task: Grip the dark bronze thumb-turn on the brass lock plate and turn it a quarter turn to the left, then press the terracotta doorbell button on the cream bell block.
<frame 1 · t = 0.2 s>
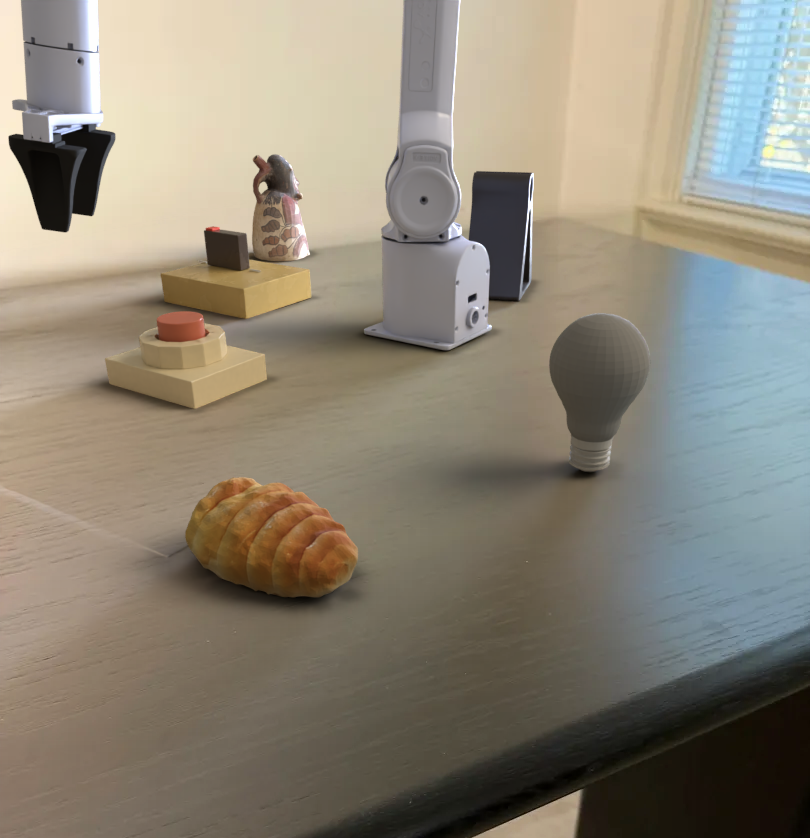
hand: (68, 222, 78), 10 cm above the table, tool pointing down, fingers open, 7 cm apart
light bulb: (588, 471, 57), on the table
bell button: (181, 328, 70), point 4 cm above the table, slide at 0.1 cm
phone stand: (498, 291, 98), on the table
thumb turn: (226, 248, 94), point 5 cm above the table, hinge at 0.0°
bell block: (188, 382, 72), on the table
figurine: (281, 256, 114), on the table
pastry: (274, 562, 48), on the table
lock plate: (238, 299, 95), on the table
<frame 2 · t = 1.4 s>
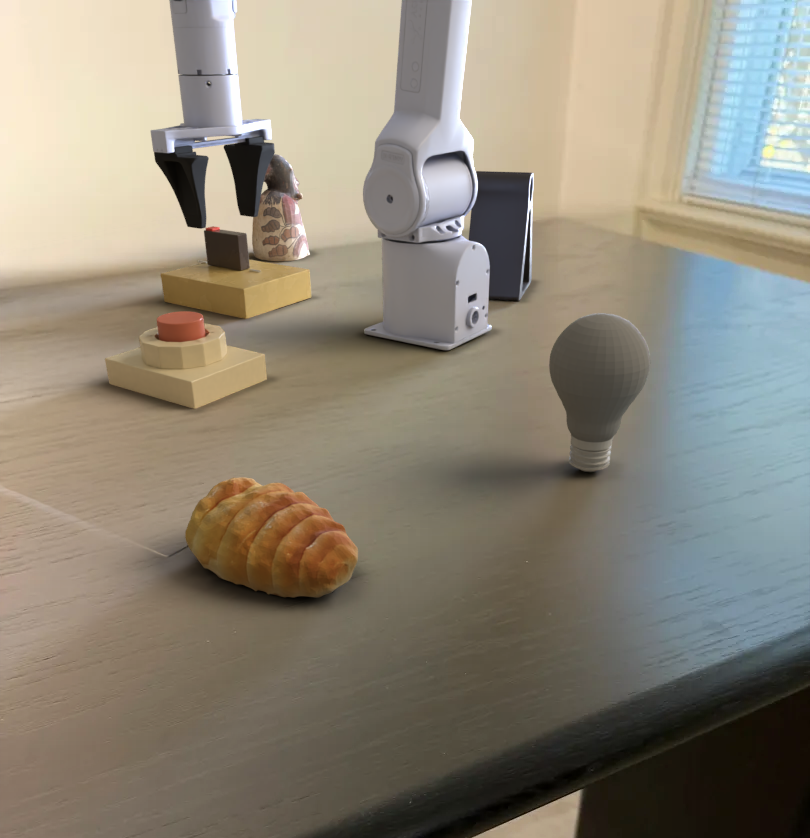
hand: (223, 221, 93), 8 cm above the table, tool pointing down, fingers open, 7 cm apart
nothing on the table moved.
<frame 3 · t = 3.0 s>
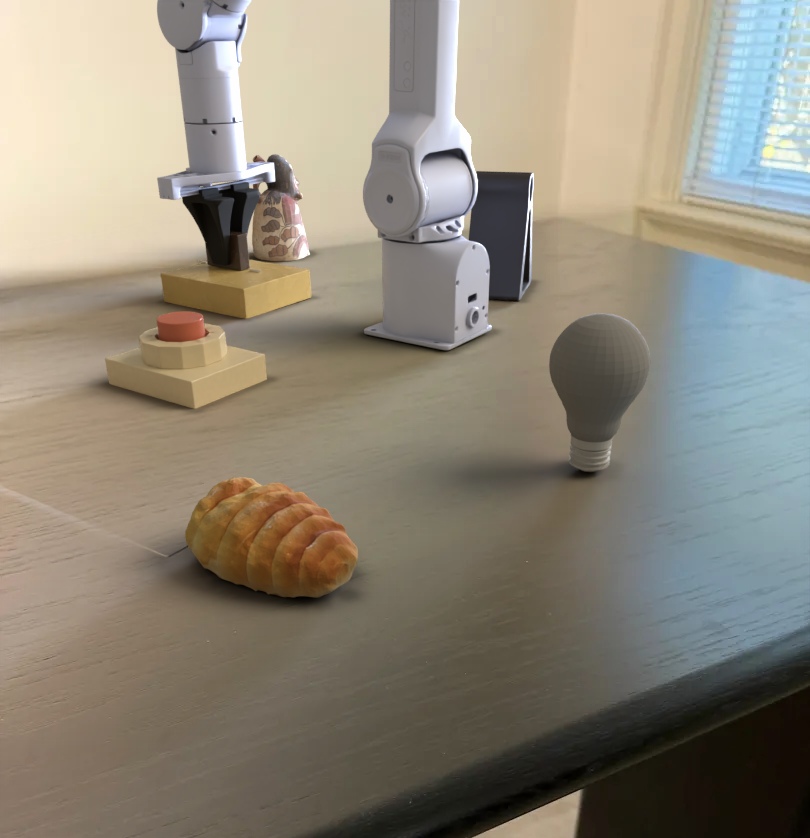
hand: (228, 262, 95), 4 cm above the table, tool pointing down, fingers closed on thumb turn
thumb turn: (226, 248, 94), point 5 cm above the table, hinge at 0.0°, touching gripper
everything else where it was.
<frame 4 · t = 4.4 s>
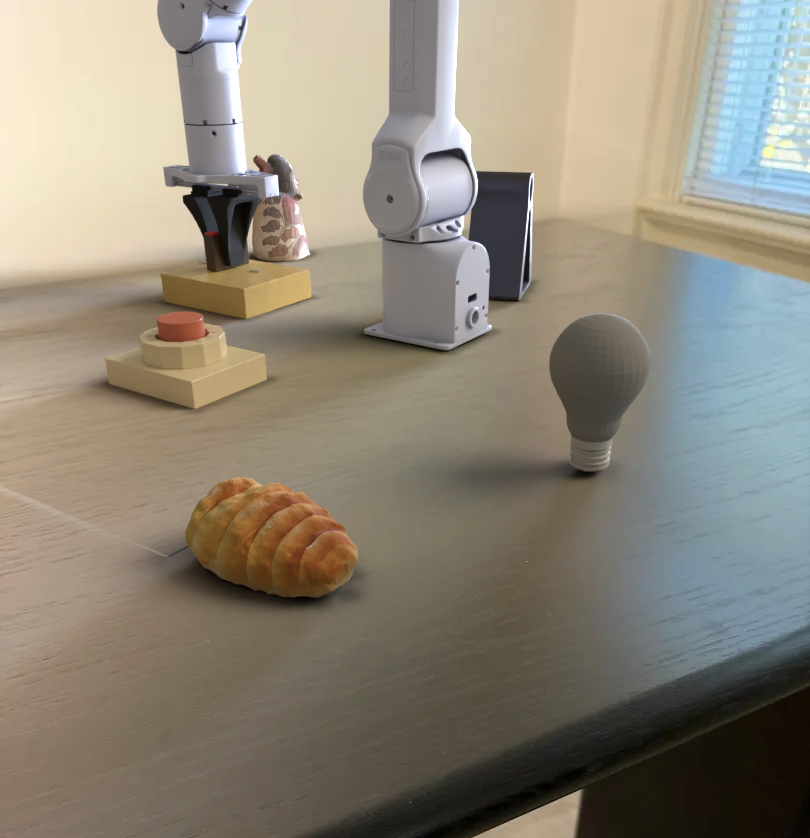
hand: (228, 263, 95), 3 cm above the table, tool pointing down, fingers closed on thumb turn
thumb turn: (226, 248, 94), point 5 cm above the table, hinge at 89.8°, touching gripper
everything else where it was.
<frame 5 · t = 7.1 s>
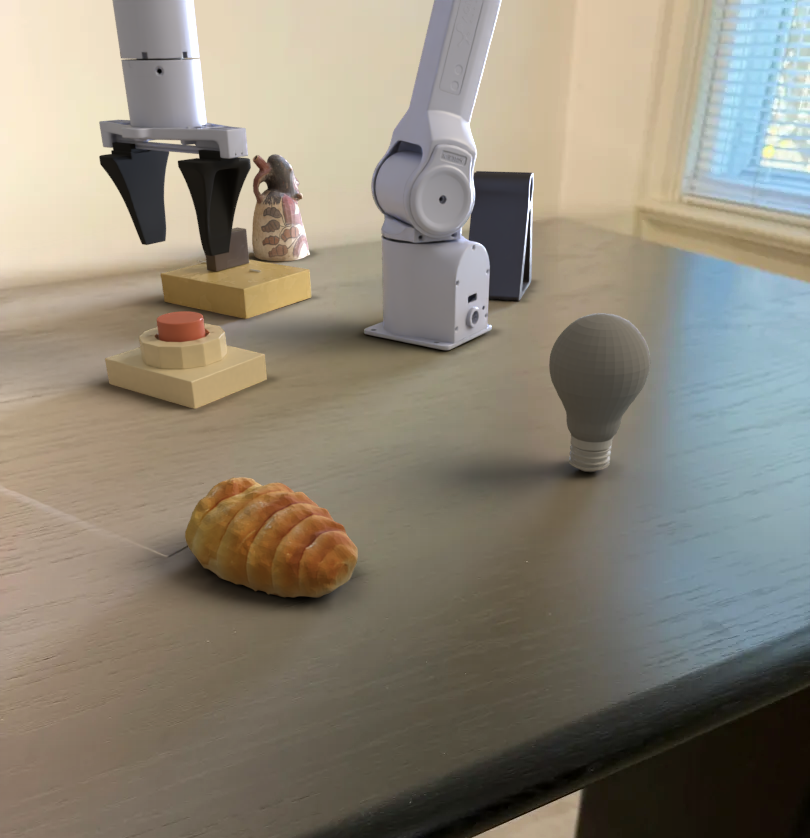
hand: (184, 248, 73), 9 cm above the table, tool pointing down, fingers open, 7 cm apart
thumb turn: (226, 248, 94), point 5 cm above the table, hinge at 89.8°
everything else where it was.
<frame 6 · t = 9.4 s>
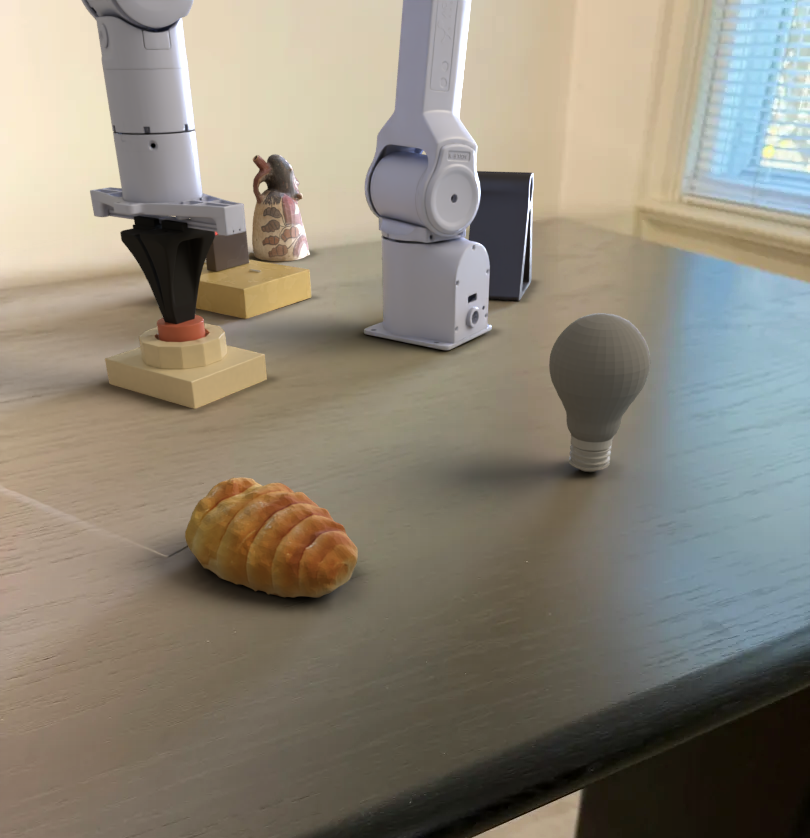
hand: (179, 320, 70), 5 cm above the table, tool pointing down, fingers closed, pressing on bell button
bell button: (181, 331, 70), point 4 cm above the table, slide at -0.1 cm, touching gripper
everything else where it was.
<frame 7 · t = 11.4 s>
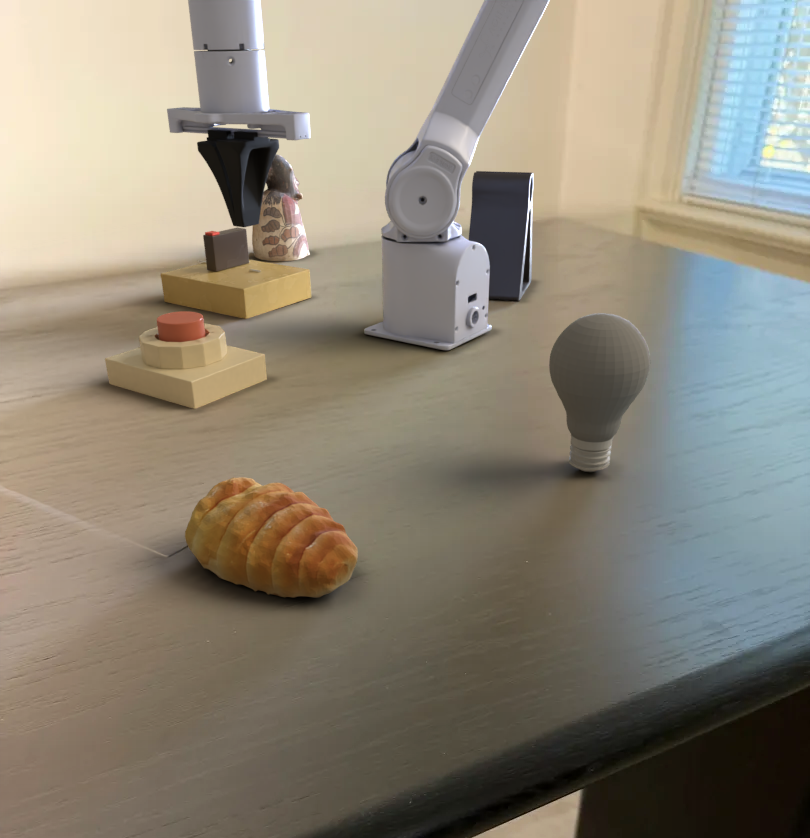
hand: (246, 225, 79), 10 cm above the table, tool pointing down, fingers closed
bell button: (181, 328, 70), point 4 cm above the table, slide at 0.1 cm
everything else where it was.
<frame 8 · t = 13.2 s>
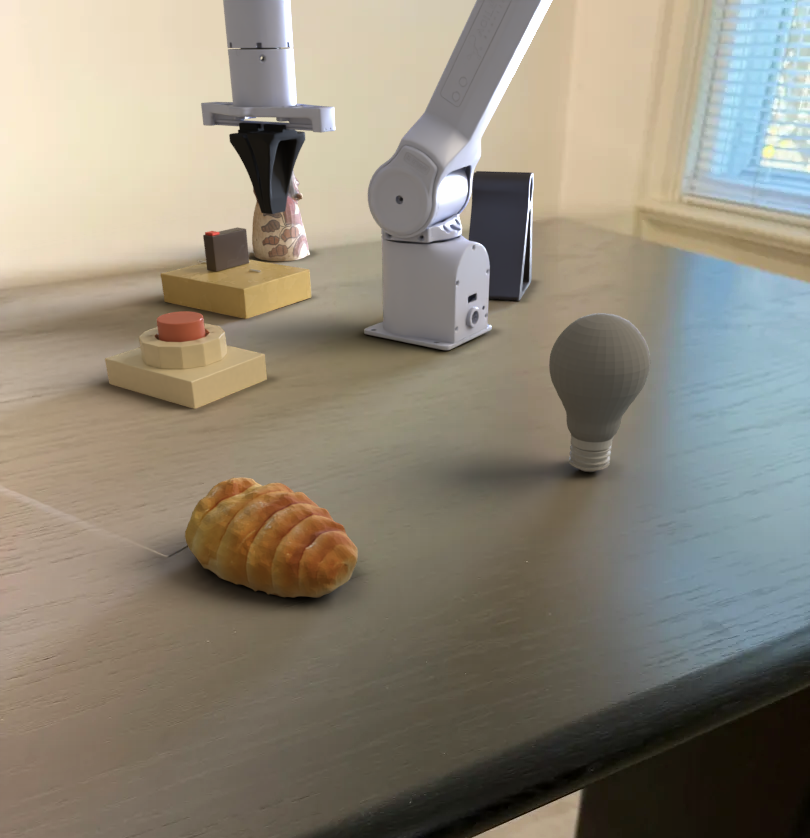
hand: (273, 212, 84), 10 cm above the table, tool pointing down, fingers closed
nothing on the table moved.
at the end: thumb turn at +90° (first picture: +0°); bell button pushed in 1.2 cm at the most during the clip, back to where it started at the end; bell button slide at 0.1 cm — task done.
